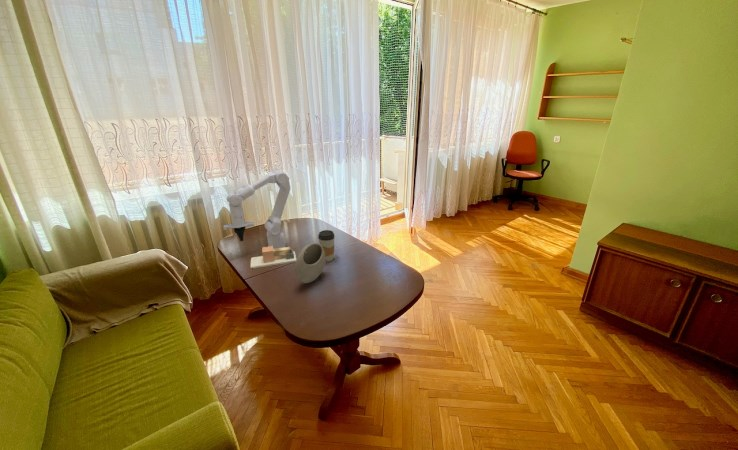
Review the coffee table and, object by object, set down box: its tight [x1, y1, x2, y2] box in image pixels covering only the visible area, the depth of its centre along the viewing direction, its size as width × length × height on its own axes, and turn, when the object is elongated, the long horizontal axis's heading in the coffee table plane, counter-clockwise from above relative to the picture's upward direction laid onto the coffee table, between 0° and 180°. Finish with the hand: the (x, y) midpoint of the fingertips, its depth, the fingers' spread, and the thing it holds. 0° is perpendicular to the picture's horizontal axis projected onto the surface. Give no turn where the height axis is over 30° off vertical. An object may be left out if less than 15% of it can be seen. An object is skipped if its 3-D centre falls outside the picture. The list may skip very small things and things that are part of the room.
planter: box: [294, 242, 326, 284], centre depth 134 cm, size 18×7×19 cm, turn 148°
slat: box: [273, 246, 291, 260], centre depth 154 cm, size 12×3×5 cm, turn 108°
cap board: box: [250, 248, 297, 269], centre depth 154 cm, size 22×10×4 cm, turn 108°
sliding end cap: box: [261, 246, 275, 263], centre depth 153 cm, size 5×6×6 cm
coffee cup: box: [317, 229, 335, 263], centre depth 154 cm, size 8×8×15 cm
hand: (241, 240), depth 156 cm, fingers closed
